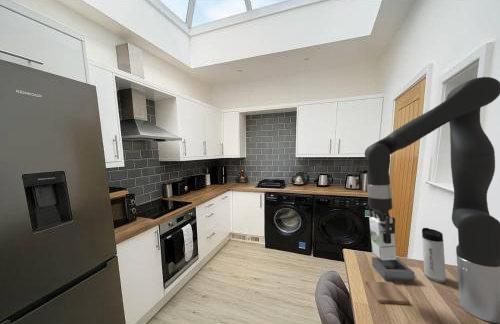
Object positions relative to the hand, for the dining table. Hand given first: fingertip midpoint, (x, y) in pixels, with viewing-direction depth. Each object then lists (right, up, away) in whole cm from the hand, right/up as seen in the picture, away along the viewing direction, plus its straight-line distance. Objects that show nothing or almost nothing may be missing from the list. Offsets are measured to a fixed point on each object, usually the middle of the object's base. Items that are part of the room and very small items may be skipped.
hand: (382, 239), depth 69 cm
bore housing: (+13, -20, +11) cm, 26 cm away
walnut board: (+1, -21, 0) cm, 21 cm away
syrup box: (0, -7, 0) cm, 7 cm away
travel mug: (+27, -19, +6) cm, 34 cm away
